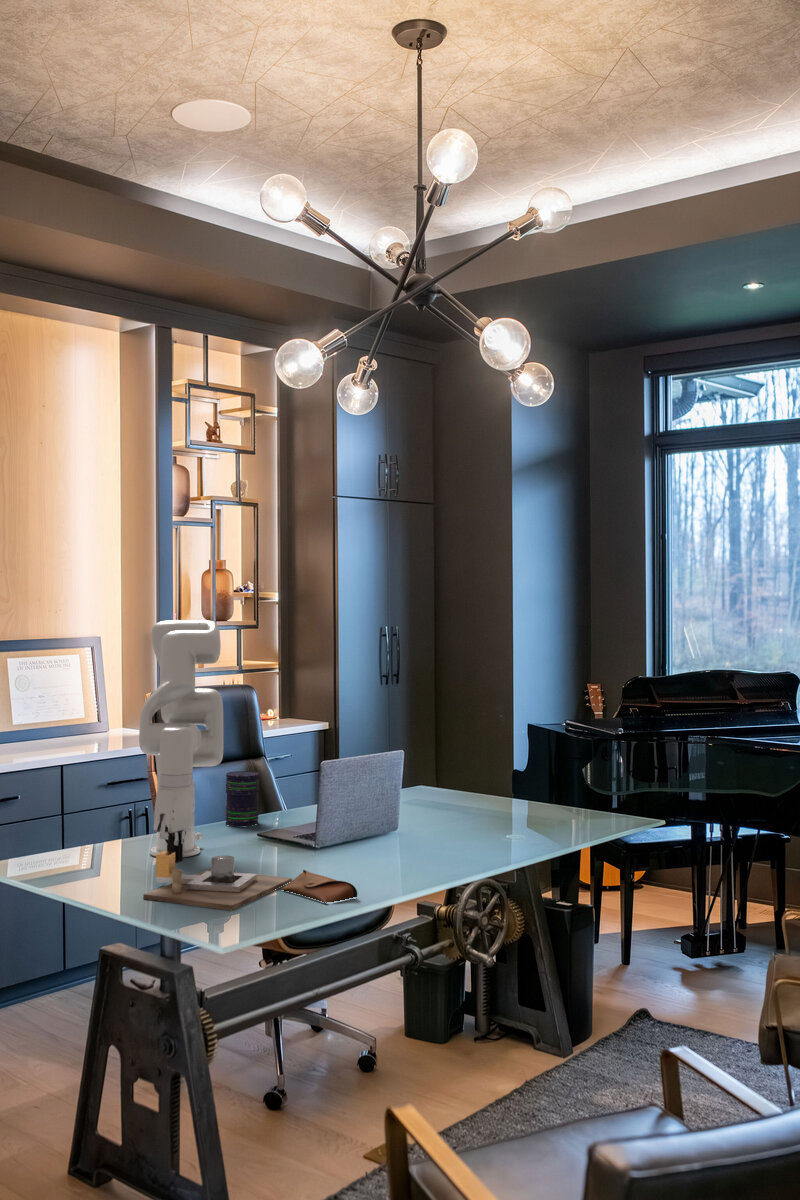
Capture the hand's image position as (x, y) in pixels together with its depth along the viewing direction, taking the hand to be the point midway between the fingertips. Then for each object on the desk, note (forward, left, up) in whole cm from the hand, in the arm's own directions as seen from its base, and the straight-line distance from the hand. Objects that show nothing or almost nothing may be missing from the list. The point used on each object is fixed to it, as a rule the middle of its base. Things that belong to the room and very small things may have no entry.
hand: (174, 861), depth 243 cm
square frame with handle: (+2, +9, -4) cm, 10 cm away
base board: (+2, +14, -5) cm, 14 cm away
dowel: (+12, +9, -4) cm, 15 cm away
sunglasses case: (-4, +35, -5) cm, 35 cm away
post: (+1, +14, -4) cm, 14 cm away
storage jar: (-68, -23, -5) cm, 72 cm away
